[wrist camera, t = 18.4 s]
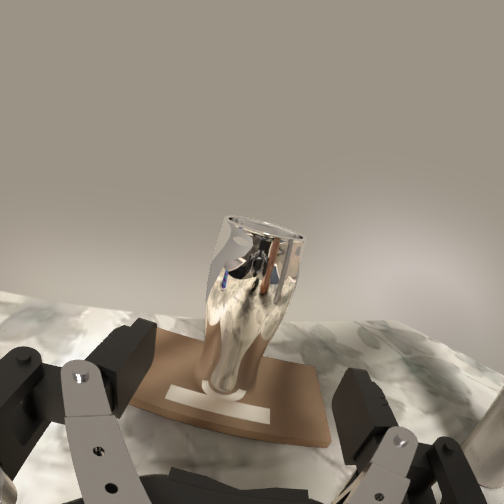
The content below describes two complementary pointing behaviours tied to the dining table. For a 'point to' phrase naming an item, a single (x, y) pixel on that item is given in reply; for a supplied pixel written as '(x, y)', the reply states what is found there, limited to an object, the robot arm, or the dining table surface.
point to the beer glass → (245, 302)
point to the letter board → (235, 412)
